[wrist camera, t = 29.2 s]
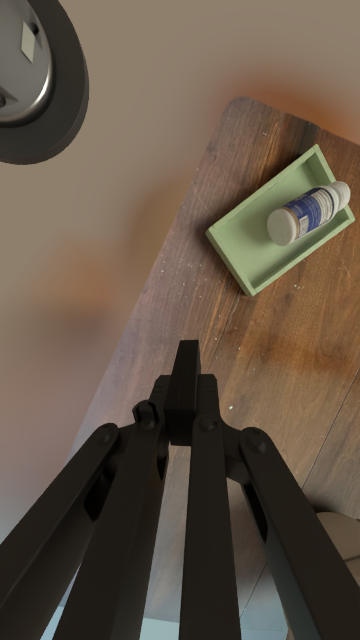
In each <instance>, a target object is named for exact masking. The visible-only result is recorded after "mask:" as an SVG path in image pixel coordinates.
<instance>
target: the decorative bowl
mask: <svg viewBox="0 0 360 640" xmlns="http://www.w3.org/2000/svg"><path fill="white" fill-rule="evenodd" d="M316 515H317V517H318V518H319V520H320V522H321V523H322V525H323V527H324V528H325V530H326V532H327V533H328V535H329V537H330V538H331V540H332V542H333V543H334V545H335V547H336V548H337V550H338V552H339V553H340V555H341V557H342V558H343V560H344V562H345V563H346V565H347V567H348V568H349V570H350V572H351V573H352V575H353V577H354V578H355V580H356V582H357V583H358V585H359V587H360V519H356V520H354V519H352V518H350V517H348V516H345V515H342V514H338V513H332V512H321V513H316ZM281 603H282V602H281ZM282 607H283V605H282ZM283 611H284V608H283ZM284 615H285V619H286V622H287V626H288V633H287V638H286V640H294V637H293V634H292V631H291V628H290V625H289V622H288V620H287V617H286V614H285V611H284Z"/></svg>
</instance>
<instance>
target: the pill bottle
mask: <svg viewBox="0 0 360 640" xmlns="http://www.w3.org/2000/svg"><path fill="white" fill-rule="evenodd" d="M349 199H350V190H349V187H348V186H347V185H346V184H345V183H344V182H340V181H337V182H333V183H331V184H329V185H328V186H317V187H315V188H313V189H311V190H309V191H307V192H306V193H304V194H302V195H300V196H299V197H297V198H295V199H294V200H292V201H290V202H288V203H287V204H285V205H283V206H282V207H280V208H278V209H277V210H275V211H273V212H272V213H271V214H270V215H269V217H268V220H267V231H268V234H269V236H270V238H271V239H272V241H273V242H274V243H275V244H277V245H279V246H287V245H289V244H291V243H293V242H294V241H296V240H298V239H300V238H302V237H303V236H305V235H307V234H308V233H310V232H312V231H314V230H316V229H317V228H319V227H321V226H323V225H324V224H326V223H327V222H329V221H330V220H331V219H332V218H333V217H334V216H335V214H336V213H337V212H338V211H340V210H341V209H343V208H344V207H345V206H346V205H347V203H348V201H349Z"/></svg>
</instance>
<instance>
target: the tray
mask: <svg viewBox="0 0 360 640" xmlns="http://www.w3.org/2000/svg"><path fill="white" fill-rule="evenodd" d="M333 182H336V180H335V178H334V176H333V174H332V172H331V170H330V168H329V166H328V164H327V162H326V160H325V158H324V156H323V154H322V152H321V150H320V148H319V146H318V144H316V145H315V146H313V147H312V148H311V149H309V150H308V151H307V152H306V153H304V154H303V155H302V156H301V157H299V158H298V159H297V160H295V161H294V162H293V163H292V164H290V165H289V166H288V167H286V168H285V169H284V170H283V171H281V172H280V173H279V174H278V175H276V176H275V177H274V178H272V179H271V180H270V181H269V182H267V183H266V184H265V185H263V186H262V187H261V188H260V189H258V190H257V191H256V192H255V193H253V194H252V195H251V196H249V197H248V198H247V199H246V200H244V201H243V202H242V203H240V204H239V205H238V206H237V207H235V208H234V209H233V210H232V211H230V212H229V213H228V214H226V215H225V216H224V217H223V218H221V219H220V220H219V221H217V222H216V223H215V224H214V225H212V226H211V227H210V228H209V229H208V230H207V231H206V233H205V235H206V236H207V238H208V239H209V241H210V242H211V244H212V245H213V247H214V248H215V250H216V251H217V252H218V254H219V255H220V257H221V258H222V260H223V261H224V263H225V264H226V266H227V267H228V269H229V270H230V272H231V273H232V275H233V276H234V278H235V279H236V281H237V282H238V284H239V285H240V287H241V288H242V290H243V291H244V293H245V294H246V296H254V295H255V294H257V293H258V292H259V291H261V290H262V289H263V288H265V287H266V286H267V285H269V284H270V283H271V282H273V281H274V280H275V279H277V278H278V277H279V276H281V275H282V274H283V273H285V272H286V271H287V270H289V269H290V268H291V267H293V266H294V265H296V264H297V263H298V262H300V261H301V260H302V259H304V258H305V257H306V256H308V255H309V254H310V253H312V252H313V251H314V250H316V249H317V248H318V247H320V246H321V245H322V244H324V243H325V242H326V241H328V240H329V239H330V238H332V237H333V236H334V235H336V234H337V233H338V232H340V231H341V230H342V229H344V228H345V227H346V226H348V225H349V224H350V223H352V222H353V221H355V218H354V216H353V214H352V212H351V210H350V208H349V206H348V204H347V205H346V206H345V207H344V208H343V209H341V210H340V211H338V212H337V213H336V214H335V216H334V217H333V218H332V219H331V220H330V221H329V222H327V223H326V224H324V225H323V226H321V227H319V228H317V229H316V230H314V231H312V232H310V233H308V234H307V235H305V236H303V237H302V238H300V239H298V240H296V241H294V242H293V243H291V244H289V245H287V246H279V245H277V244H275V243H274V242H273V241H272V239H271V238H270V236H269V234H268V231H267V220H268V217H269V215H270V214H271V213H272V212H273V211H275V210H277V209H278V208H280V207H282V206H283V205H285V204H287V203H288V202H290V201H292V200H294V199H295V198H297V197H299V196H300V195H302V194H304V193H306V192H307V191H309V190H311V189H313V188H315V187H317V186H328V185H329V184H331V183H333Z"/></svg>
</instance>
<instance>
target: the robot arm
mask: <svg viewBox="0 0 360 640" xmlns="http://www.w3.org/2000/svg"><path fill="white" fill-rule="evenodd" d="M56 78H57V72H56V62H55V57H54V53H53V50H52V47H51V44H50V42H49V40H48V38H47V35H46V33H45V31H44V29H43V27H42V25H41V23H40V21H39V19H38V17H37V15H36V14H35V12H34V10H33V9H32V7H31V6H30V4H29V3H28V1H27V0H0V127H3V128H17V127H22V126H25V125H28V124H30V123H32V122H34V121H35V120H37V119H38V118H39V117H40V116H41V115H42V114H43V113H44V112H45V111H46V109H47V108H48V106H49V104H50V103H51V100H52V98H53V95H54V92H55V87H56ZM132 412H133V415H134V419H135V423H134V424H131V425H128V426H125V427H121V428H118V427H117V425H116V424H114V423H107V424H103V425H102V426H100V427H98V428H97V429H96V430H95V431H94V432H93V433H92V435H91V436H90V437H89V438H88V439H87V441H86V442H85V443H84V444H83V445H82V447H81V448H80V449H79V450H78V452H77V453H76V454H75V455H74V456H73V458H72V459H71V460H70V461H69V462H68V464H67V465H66V466H65V467H64V468H63V470H62V471H61V472H60V473H59V474H58V476H57V477H56V478H55V479H54V481H53V482H52V483H51V484H50V485H49V487H48V488H47V489H46V490H45V491H44V493H43V494H42V495H41V496H40V497H39V499H38V500H37V501H36V502H35V504H34V505H33V506H32V507H31V508H30V510H29V511H28V512H27V513H26V514H25V516H24V517H23V518H22V519H21V520H20V522H19V523H18V524H17V525H16V526H15V528H14V529H13V530H12V531H11V532H10V534H9V535H8V536H7V537H6V538H5V540H4V541H3V542H2V543H1V544H0V640H40V639H41V637H42V635H43V633H44V631H45V629H46V627H47V626H48V624H49V622H50V620H51V618H52V616H53V614H54V612H55V610H56V609H57V607H58V605H59V603H60V601H61V599H62V597H63V596H64V594H65V592H66V590H67V588H68V586H69V584H70V582H71V581H72V579H73V577H74V575H75V573H76V571H77V569H78V567H79V566H80V564H81V566H80V568H79V571H78V574H77V576H76V579H75V581H74V584H73V587H72V589H71V592H70V594H69V597H68V600H67V602H66V605H65V607H64V610H63V613H62V616H61V618H60V620H59V623H58V626H57V628H56V631H55V633H54V636H53V639H52V640H139V639H140V632H141V626H142V620H143V614H144V608H145V602H146V596H147V589H148V583H149V577H150V571H151V565H152V559H153V553H154V547H155V540H156V534H157V528H158V522H159V516H160V510H161V504H162V497H163V491H164V485H165V479H166V473H167V467H168V461H169V450H168V446H169V440H170V443H171V445H175V446H191V459H190V474H189V489H188V504H187V519H186V534H185V549H184V564H183V579H182V595H181V610H180V626H179V640H241V629H240V618H239V607H238V597H237V586H236V575H235V565H234V554H233V543H232V533H231V522H230V511H229V501H228V490H227V479H226V477H228V478H230V479H232V480H234V481H236V482H238V483H240V485H241V488H242V491H243V494H244V496H245V499H246V502H247V505H248V508H249V511H250V514H251V517H252V519H253V522H254V525H255V528H256V531H257V534H258V537H259V539H260V542H261V545H262V548H263V551H264V554H265V557H266V559H267V562H268V565H269V568H270V571H271V574H272V577H273V579H274V582H275V585H276V588H277V591H278V594H279V597H280V600H281V602H282V605H283V608H284V611H285V614H286V617H287V620H288V622H289V625H290V628H291V631H292V634H293V637H294V640H360V587H359V585H358V583H357V582H356V580H355V578H354V577H353V575H352V573H351V572H350V570H349V568H348V567H347V565H346V563H345V562H344V560H343V558H342V557H341V555H340V553H339V552H338V550H337V548H336V547H335V545H334V543H333V542H332V540H331V538H330V537H329V535H328V533H327V532H326V530H325V528H324V527H323V525H322V523H321V522H320V520H319V518H318V517H317V515H316V513H315V512H314V510H313V508H312V507H311V505H310V503H309V502H308V500H307V498H306V497H305V495H304V493H303V492H302V490H301V488H300V487H299V485H298V483H297V482H296V480H295V478H294V476H293V475H292V473H291V471H290V470H289V468H288V466H287V465H286V463H285V461H284V460H283V458H282V456H281V455H280V453H279V451H278V450H277V448H276V446H275V445H274V443H273V441H272V440H271V438H270V437H269V436H268V435H267V433H265V432H264V431H262V430H261V429H258V428H255V427H247V428H245V429H243V430H242V431H240V430H237V429H234V428H232V427H230V426H228V425H227V424H226V423H225V422H224V421H223V420H222V418H221V416H220V409H219V398H218V388H217V379H216V378H215V376H214V375H213V374H201V363H200V352H199V341H198V340H180V343H179V347H178V351H177V355H176V359H175V363H174V367H173V370H172V374H171V375H160V376H159V378H158V379H157V380H156V381H155V384H154V388H153V390H152V393H151V395H150V398H149V399H148V400H143V401H141V402H139V403H138V404H137V405H135V406H134V408H133V409H132ZM82 560H83V561H82ZM81 562H82V563H81Z"/></svg>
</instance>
